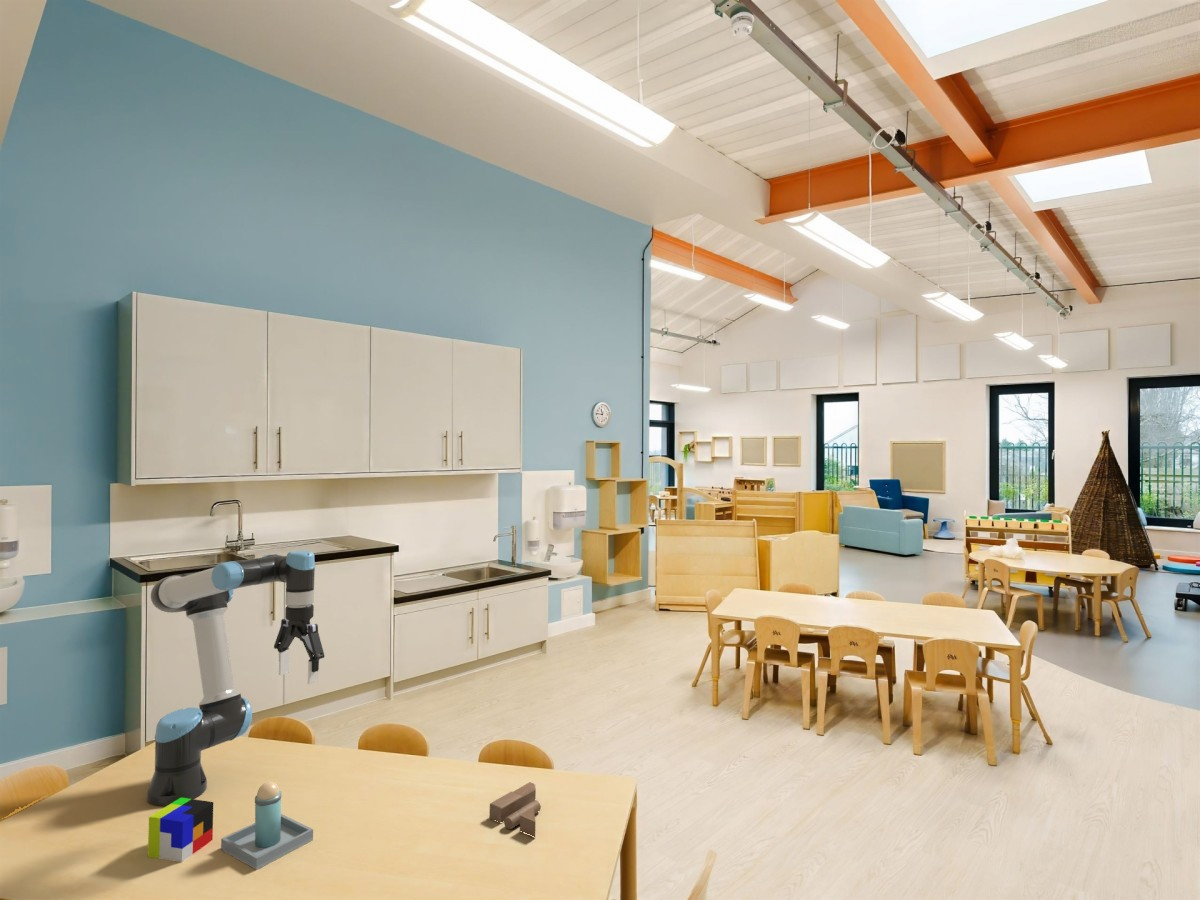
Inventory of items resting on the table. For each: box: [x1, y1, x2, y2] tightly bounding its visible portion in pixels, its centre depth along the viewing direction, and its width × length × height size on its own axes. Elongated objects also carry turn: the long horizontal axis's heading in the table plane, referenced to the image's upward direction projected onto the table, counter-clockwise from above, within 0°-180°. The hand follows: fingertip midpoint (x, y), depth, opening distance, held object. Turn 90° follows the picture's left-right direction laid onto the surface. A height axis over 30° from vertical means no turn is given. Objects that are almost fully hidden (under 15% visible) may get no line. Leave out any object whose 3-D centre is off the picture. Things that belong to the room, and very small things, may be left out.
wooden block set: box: [489, 781, 542, 838], centre depth 193 cm, size 17×6×18 cm
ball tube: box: [254, 781, 282, 848], centre depth 177 cm, size 6×6×15 cm
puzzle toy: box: [147, 798, 214, 863], centre depth 175 cm, size 10×10×10 cm
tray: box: [220, 813, 314, 871], centre depth 177 cm, size 16×16×3 cm
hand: (298, 678), depth 197 cm, fingers open, 13 cm apart
